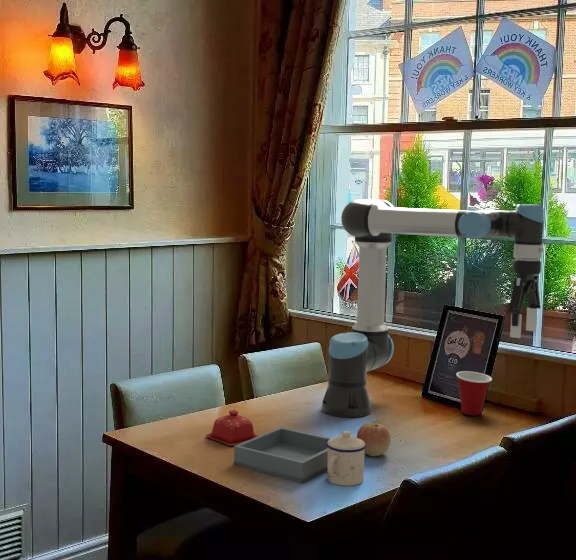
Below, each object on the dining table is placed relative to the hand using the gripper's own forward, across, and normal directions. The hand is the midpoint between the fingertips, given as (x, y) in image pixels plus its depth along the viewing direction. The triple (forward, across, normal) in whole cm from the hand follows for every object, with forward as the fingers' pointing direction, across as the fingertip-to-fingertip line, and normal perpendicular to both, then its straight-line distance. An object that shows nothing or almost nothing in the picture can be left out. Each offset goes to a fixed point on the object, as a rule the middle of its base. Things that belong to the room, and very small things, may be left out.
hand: (523, 334), depth 232 cm
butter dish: (+28, -57, +59) cm, 87 cm away
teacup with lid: (+28, -66, +20) cm, 75 cm away
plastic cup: (+28, +9, +17) cm, 34 cm away
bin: (+28, -63, +36) cm, 78 cm away
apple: (+28, -44, +23) cm, 57 cm away
